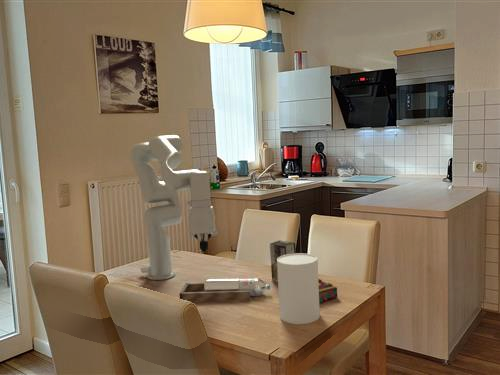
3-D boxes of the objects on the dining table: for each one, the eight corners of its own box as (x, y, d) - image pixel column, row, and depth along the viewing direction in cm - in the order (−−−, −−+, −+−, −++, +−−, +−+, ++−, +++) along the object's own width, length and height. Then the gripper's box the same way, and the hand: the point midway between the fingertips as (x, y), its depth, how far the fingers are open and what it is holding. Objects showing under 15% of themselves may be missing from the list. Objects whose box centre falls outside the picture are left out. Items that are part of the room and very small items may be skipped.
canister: (323, 322, 162) (321, 262, 159) (282, 325, 161) (279, 265, 158) (315, 307, 175) (312, 252, 173) (277, 310, 174) (274, 255, 172)
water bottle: (204, 298, 189) (269, 297, 187) (203, 280, 189) (269, 279, 187) (207, 294, 195) (270, 294, 194) (206, 277, 196) (269, 276, 194)
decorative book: (314, 288, 196) (313, 275, 195) (340, 299, 182) (339, 286, 181) (290, 294, 191) (289, 281, 190) (315, 306, 176) (314, 293, 176)
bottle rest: (180, 302, 187) (179, 293, 187) (186, 291, 199) (185, 283, 199) (250, 300, 185) (249, 291, 185) (252, 289, 197) (251, 281, 197)
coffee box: (297, 280, 205) (296, 242, 203) (287, 284, 201) (285, 246, 199) (281, 276, 212) (279, 239, 209) (271, 280, 207) (269, 243, 205)
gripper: (179, 206, 185) (183, 254, 187) (219, 204, 183) (222, 252, 186) (183, 202, 192) (186, 249, 194) (221, 201, 191) (224, 247, 193)
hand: (204, 250), depth 190 cm, fingers closed
